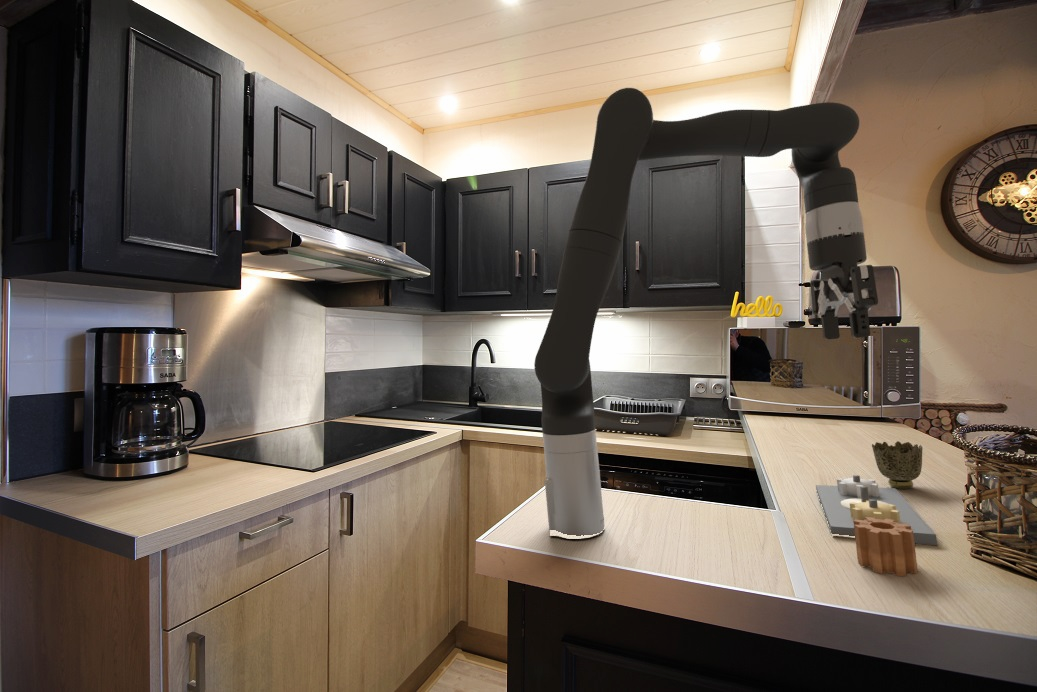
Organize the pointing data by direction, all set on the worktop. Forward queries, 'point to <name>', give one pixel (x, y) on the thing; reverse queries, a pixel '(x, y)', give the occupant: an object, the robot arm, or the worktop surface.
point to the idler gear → (885, 546)
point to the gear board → (885, 496)
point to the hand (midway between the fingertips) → (845, 338)
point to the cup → (899, 463)
